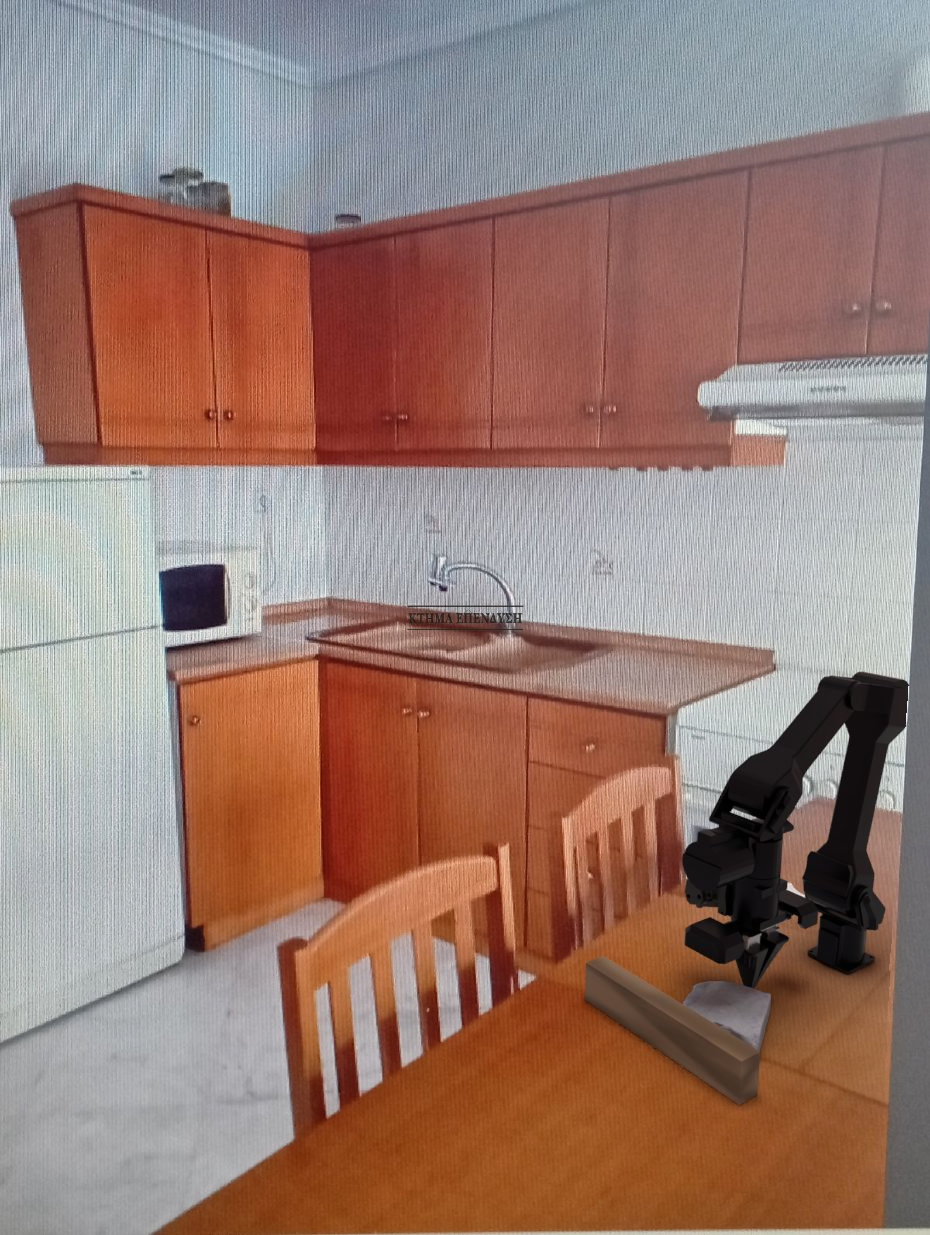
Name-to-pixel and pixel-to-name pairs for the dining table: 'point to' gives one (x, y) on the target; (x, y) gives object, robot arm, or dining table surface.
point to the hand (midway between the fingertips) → (749, 987)
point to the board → (674, 1029)
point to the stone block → (732, 1009)
